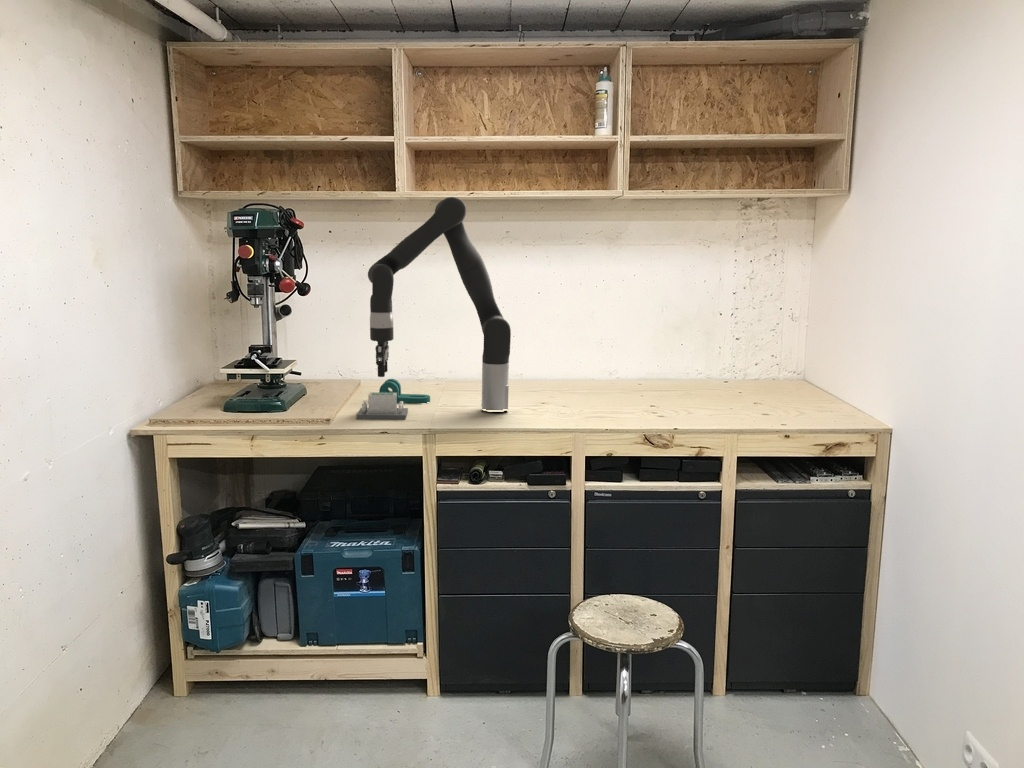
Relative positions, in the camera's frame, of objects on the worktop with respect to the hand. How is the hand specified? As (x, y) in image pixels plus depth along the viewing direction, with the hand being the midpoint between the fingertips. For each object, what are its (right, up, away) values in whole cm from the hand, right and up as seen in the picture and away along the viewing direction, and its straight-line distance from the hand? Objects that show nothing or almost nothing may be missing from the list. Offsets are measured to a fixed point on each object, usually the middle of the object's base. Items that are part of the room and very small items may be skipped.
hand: (382, 374), depth 227 cm
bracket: (+4, -10, +25) cm, 27 cm away
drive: (0, -12, +3) cm, 13 cm away
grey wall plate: (-1, -14, +3) cm, 14 cm away
